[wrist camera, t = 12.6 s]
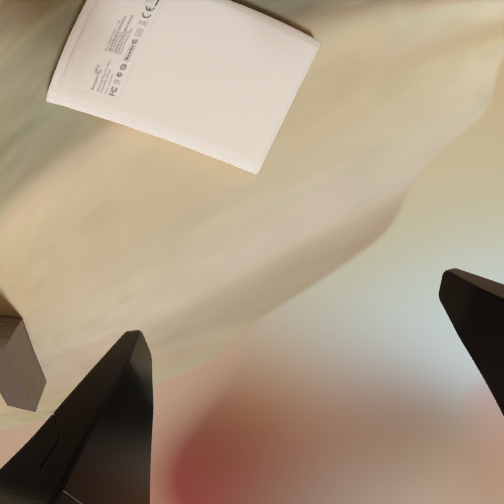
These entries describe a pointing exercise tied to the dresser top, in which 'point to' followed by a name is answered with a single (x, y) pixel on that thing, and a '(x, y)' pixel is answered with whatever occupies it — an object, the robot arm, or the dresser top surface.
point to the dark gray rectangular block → (19, 366)
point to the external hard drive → (185, 73)
